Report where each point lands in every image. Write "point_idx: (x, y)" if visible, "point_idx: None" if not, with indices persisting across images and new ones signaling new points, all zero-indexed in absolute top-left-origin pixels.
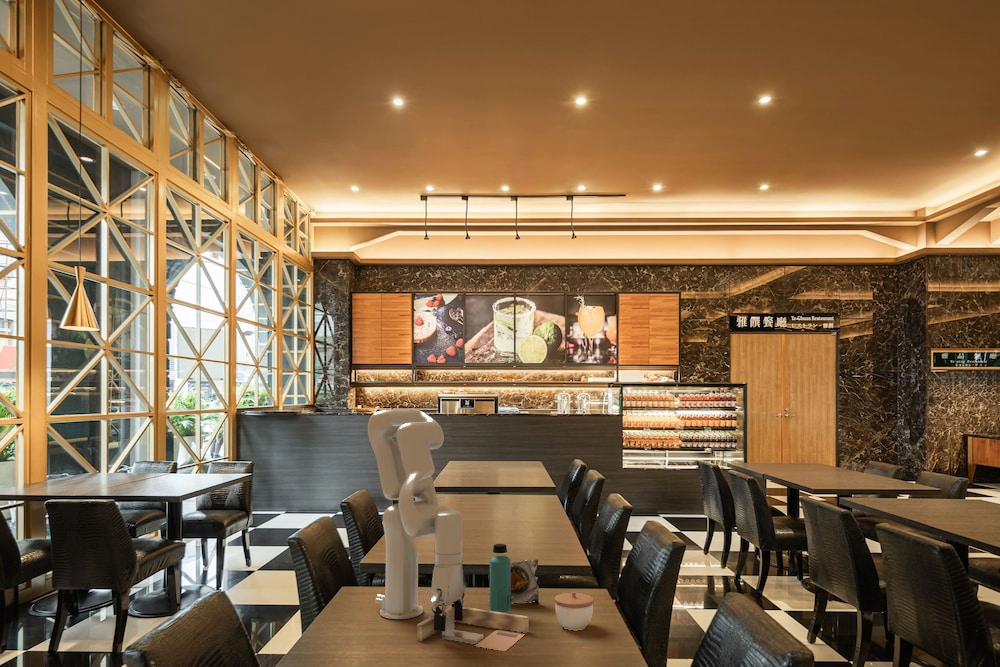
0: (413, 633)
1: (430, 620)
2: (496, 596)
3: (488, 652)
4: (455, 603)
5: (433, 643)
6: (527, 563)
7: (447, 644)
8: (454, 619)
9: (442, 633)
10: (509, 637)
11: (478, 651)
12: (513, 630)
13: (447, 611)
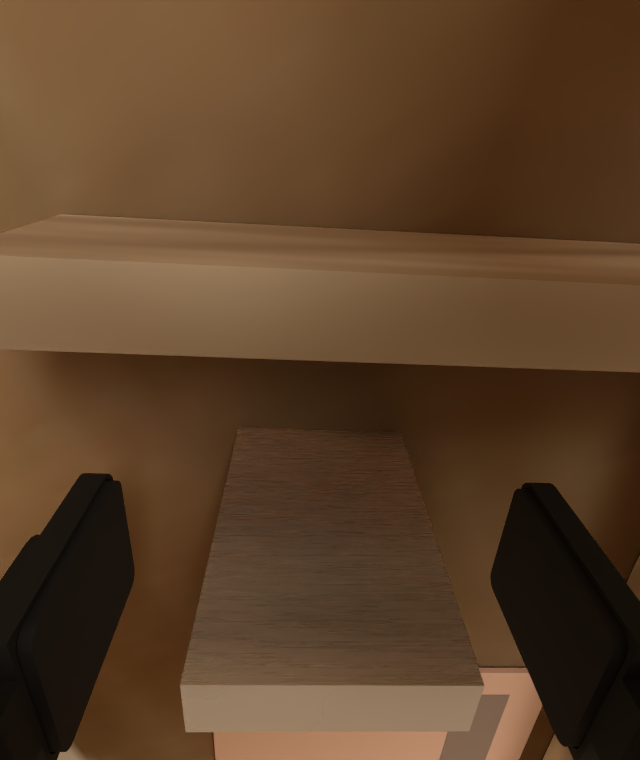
0: (245, 27)
1: (240, 356)
2: None
3: (167, 740)
4: (625, 722)
5: (97, 411)
6: None
7: (146, 516)
8: (507, 517)
9: (230, 463)
10: (431, 754)
11: (149, 702)
12: (556, 740)
13: (232, 731)
